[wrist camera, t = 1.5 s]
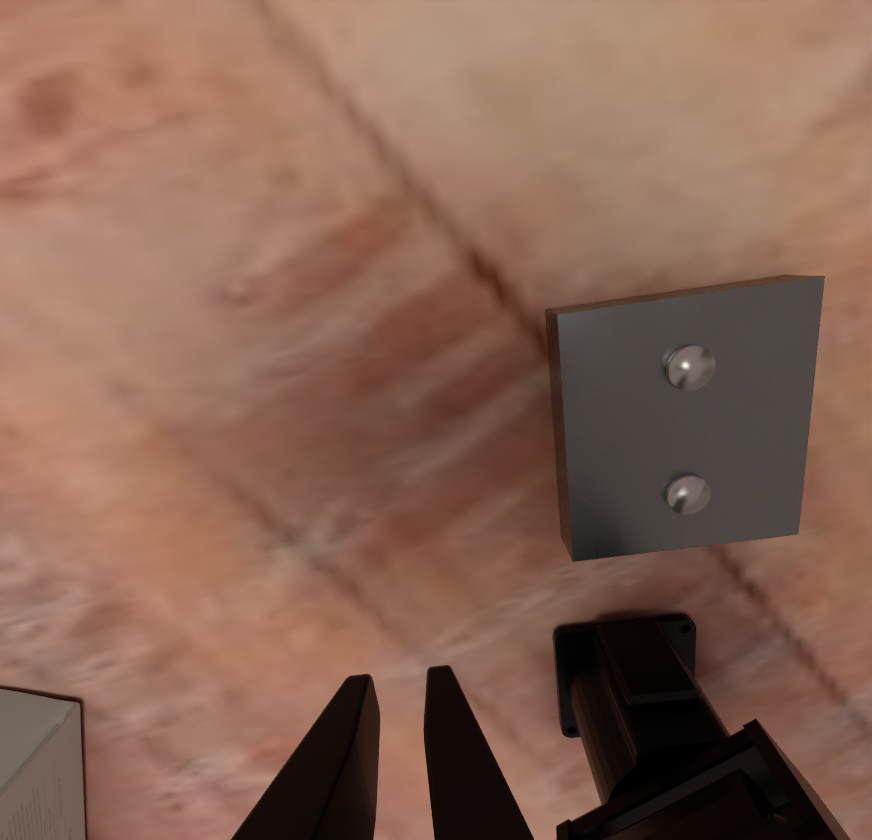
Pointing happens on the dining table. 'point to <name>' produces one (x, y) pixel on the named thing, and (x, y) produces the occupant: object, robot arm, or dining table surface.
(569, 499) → the two-screw grey plate
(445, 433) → the dining table surface
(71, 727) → the skincare box
